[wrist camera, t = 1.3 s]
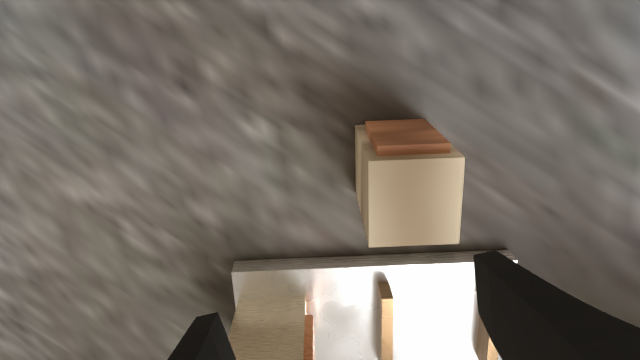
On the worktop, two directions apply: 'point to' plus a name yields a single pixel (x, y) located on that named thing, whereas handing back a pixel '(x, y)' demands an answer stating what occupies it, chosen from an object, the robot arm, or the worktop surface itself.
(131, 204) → the worktop surface
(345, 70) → the worktop surface
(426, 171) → the block
